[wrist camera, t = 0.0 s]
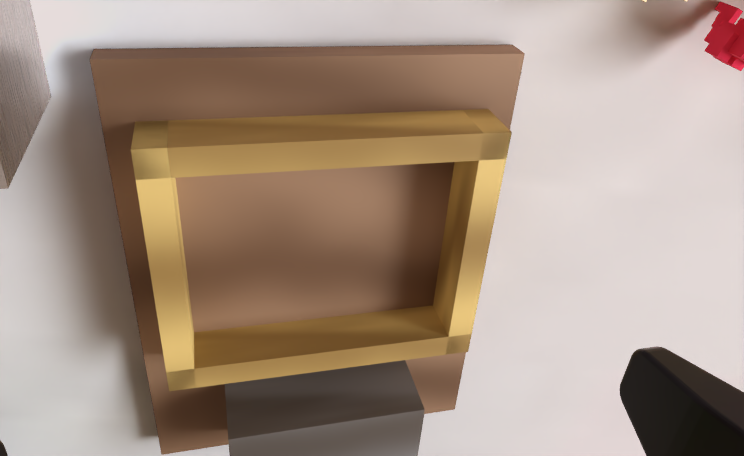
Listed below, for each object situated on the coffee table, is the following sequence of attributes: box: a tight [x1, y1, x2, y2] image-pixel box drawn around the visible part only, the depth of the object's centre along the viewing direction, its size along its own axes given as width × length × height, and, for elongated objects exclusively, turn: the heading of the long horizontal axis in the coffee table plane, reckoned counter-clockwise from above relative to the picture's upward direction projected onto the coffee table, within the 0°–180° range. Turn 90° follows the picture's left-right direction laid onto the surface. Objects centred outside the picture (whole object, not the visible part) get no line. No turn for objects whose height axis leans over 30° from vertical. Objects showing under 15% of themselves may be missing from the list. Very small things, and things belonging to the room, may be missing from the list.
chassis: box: [90, 45, 524, 456], centre depth 24 cm, size 18×14×4 cm
